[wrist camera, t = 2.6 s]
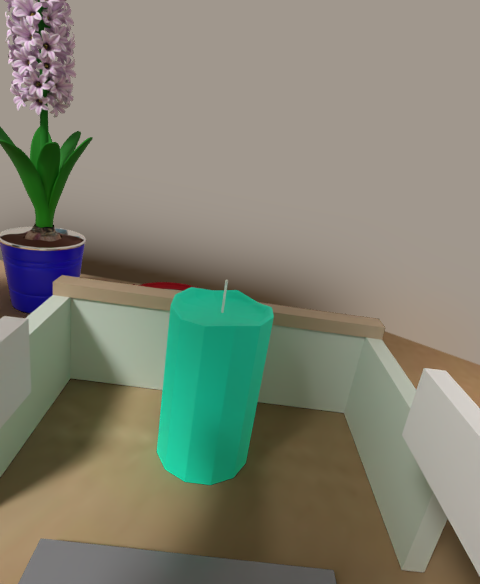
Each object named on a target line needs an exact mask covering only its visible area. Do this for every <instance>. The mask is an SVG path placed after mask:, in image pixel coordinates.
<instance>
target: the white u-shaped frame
mask: <svg viewBox="0 0 480 584" xmlns="http://www.w3.org/2000/svg"><path fill="white" fill-rule="evenodd" d="M179 292H181V291H174V290H166V289H159V288H152V287H145V286H137V285H130V284H123V283H116V282H109V281H101V280H94V279H87V278H80V277H72V276H65V275H61V276H60V277H59V278H57V279H56V280H55V281H53V295H52V296H51V297H50V298H49V299H48V300H46V301H45V302H44V303H43V304H42V305H40V306H39V307H38V308H37V309H36V310H34V311H33V312H32V313H31V314H30V315H28V316H27V317H26V318H25V319H28V320H29V345H30V370H31V393H30V394H29V395H28V396H27V397H26V399H25V400H24V401H23V402H22V403H21V405H20V406H19V407H18V408H17V409H16V411H15V412H14V413H13V414H12V415H11V416H10V418H9V419H8V420H7V421H6V422H5V424H4V425H3V426H2V427H1V428H0V477H1V476H2V474H3V473H4V472H5V470H6V469H7V467H8V466H9V465H10V463H11V462H12V460H13V459H14V457H15V456H16V455H17V453H18V452H19V450H20V449H21V448H22V446H23V445H24V443H25V442H26V440H27V439H28V438H29V436H30V435H31V433H32V432H33V431H34V429H35V428H36V426H37V425H38V424H39V422H40V421H41V419H42V418H43V416H44V415H45V414H46V412H47V411H48V409H49V408H50V407H51V405H52V404H53V402H54V401H55V400H56V398H57V397H58V395H59V394H60V392H61V391H62V390H63V388H64V387H65V385H66V384H67V383H68V381H69V380H70V378H71V379H79V380H87V381H95V382H103V383H111V384H119V385H127V386H135V387H142V388H150V389H158V390H163V380H164V370H165V359H166V348H167V338H168V327H169V317H170V306H171V303H172V301H173V298H174V296H175V294H177V293H179ZM258 303H260V302H258ZM261 304H264V305H267V306H270V307H272V309H273V315H274V319H273V324H272V329H271V334H270V340H269V345H268V350H267V355H266V360H265V366H264V371H263V376H262V381H261V387H260V392H259V397H258V402H261V403H269V404H277V405H285V406H293V407H300V408H308V409H316V410H324V411H332V412H340V413H344V415H345V417H346V420H347V423H348V426H349V428H350V431H351V434H352V436H353V439H354V442H355V445H356V447H357V450H358V453H359V455H360V458H361V461H362V464H363V466H364V469H365V472H366V474H367V477H368V480H369V483H370V485H371V488H372V491H373V493H374V496H375V499H376V502H377V504H378V507H379V510H380V512H381V515H382V518H383V521H384V523H385V526H386V529H387V531H388V534H389V537H390V540H391V542H392V545H393V548H394V550H395V553H396V556H397V559H398V561H399V564H400V567H401V569H402V570H406V571H415V572H425V570H426V567H427V565H428V563H429V560H430V558H431V556H432V553H433V551H434V549H435V547H436V544H437V542H438V540H439V537H440V535H441V533H442V531H443V528H444V526H445V524H446V521H447V519H448V518H447V516H446V514H445V512H444V511H443V509H442V507H441V505H440V503H439V502H438V500H437V498H436V496H435V494H434V492H433V491H432V489H431V487H430V485H429V483H428V482H427V480H426V478H425V476H424V474H423V472H422V471H421V469H420V467H419V465H418V463H417V462H416V460H415V458H414V456H413V454H412V452H411V451H410V449H409V447H408V445H407V443H406V441H405V440H404V438H403V436H402V433H403V430H404V427H405V424H406V421H407V417H408V414H409V411H410V408H411V405H412V402H413V399H414V396H415V393H416V389H415V387H414V386H413V384H412V383H411V381H410V380H409V378H408V377H407V375H406V374H405V373H404V371H403V370H402V368H401V367H400V365H399V364H398V362H397V361H396V359H395V358H394V357H393V355H392V354H391V352H390V351H389V349H388V348H387V346H386V345H385V343H384V342H383V341H382V338H383V334H384V331H385V326H384V325H383V324H382V323H381V321H380V320H379V319H376V318H369V317H362V316H355V315H347V314H339V313H333V312H325V311H318V310H311V309H304V308H296V307H289V306H282V305H275V304H268V303H261Z"/></svg>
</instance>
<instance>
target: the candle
mask: <svg viewBox="0 0 480 584" xmlns="http://www.w3.org/2000/svg"><path fill="white" fill-rule="evenodd" d="M227 284H228V280H225V287H224V290H216V291H215V290H214V291H213V290H207V289H201V288H195V287H190V288H188V289H186V290H184V291H182V292H179V293H177V294H175V296H174V298H173V301H172V303H171V306H170V317H169V327H168V338H167V348H166V359H165V370H164V380H163V391H162V401H161V412H160V423H159V433H158V444H157V454H158V456H159V458H160V460H161V462H162V464H163V466H164V469H165V470H167V471H168V472H170V473H171V474H173V475H175V476H176V477H178V478H179V479H181V480H183V481H184V482H190V483H197V484H205V485H213V484H216V483H219V482H222V481H225V480H228V479H232V478H234V477H235V475H236V474H237V473H238V472H239V471H240V470H241V468H242V467H243V466H244V465H245V464H246V460H247V454H248V449H249V444H250V439H251V434H252V428H253V423H254V418H255V413H256V407H257V402H258V397H259V392H260V387H261V381H262V376H263V371H264V366H265V360H266V355H267V350H268V345H269V340H270V334H271V329H272V324H273V319H274V315H273V309H272V307H270V306H267V305H264V304H261V303H258V302H256V301H255V300H253V299H251V298H250V297H248V296H247V295H245V294H243V293H242V292H240V291H238V290H227Z"/></svg>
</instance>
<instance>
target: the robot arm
mask: <svg viewBox="0 0 480 584" xmlns="http://www.w3.org/2000/svg"><path fill="white" fill-rule="evenodd" d="M30 393H31V370H30V345H29V320H28V319H25V318H17V317H9V316H4V317H2V318H1V319H0V428H1V427H2V426H3V425H4V424H5V422H6V421H7V420H8V419H9V418H10V416H11V415H12V414H13V413H14V412H15V411H16V409H17V408H18V407H19V406H20V405H21V403H22V402H23V401H24V400H25V399H26V397H27V396H28V395H29V394H30ZM402 436H403V438H404V440H405V441H406V443H407V445H408V447H409V449H410V451H411V452H412V454H413V456H414V458H415V460H416V462H417V463H418V465H419V467H420V469H421V471H422V472H423V474H424V476H425V478H426V480H427V482H428V483H429V485H430V487H431V489H432V491H433V492H434V494H435V496H436V498H437V500H438V502H439V503H440V505H441V507H442V509H443V511H444V512H445V514H446V516H447V518H448V520H449V522H450V523H451V525H452V527H453V529H454V531H455V532H456V534H457V536H458V538H459V540H460V542H461V543H462V545H463V547H464V549H465V551H466V553H467V554H468V556H469V558H470V560H471V562H472V563H473V565H474V567H475V569H476V571H477V573H478V574H479V576H480V408H479V407H478V406H477V405H476V404H475V403H474V402H473V401H472V399H471V398H470V397H469V396H468V395H467V394H466V393H465V392H464V390H463V389H462V388H461V387H460V386H459V385H458V384H457V383H456V382H455V380H454V379H453V378H452V377H451V376H450V375H449V374H448V373H447V371H444V370H436V369H428V368H424V369H423V372H422V375H421V378H420V381H419V384H418V387H417V390H416V393H415V396H414V399H413V402H412V405H411V408H410V411H409V414H408V417H407V421H406V424H405V427H404V430H403V433H402Z"/></svg>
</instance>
